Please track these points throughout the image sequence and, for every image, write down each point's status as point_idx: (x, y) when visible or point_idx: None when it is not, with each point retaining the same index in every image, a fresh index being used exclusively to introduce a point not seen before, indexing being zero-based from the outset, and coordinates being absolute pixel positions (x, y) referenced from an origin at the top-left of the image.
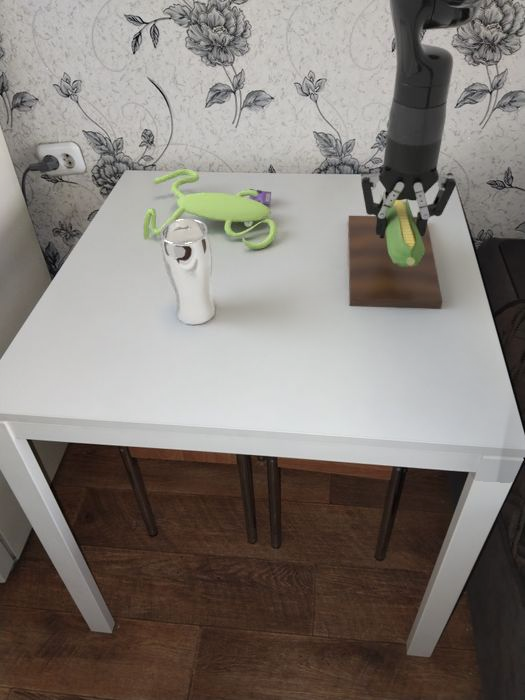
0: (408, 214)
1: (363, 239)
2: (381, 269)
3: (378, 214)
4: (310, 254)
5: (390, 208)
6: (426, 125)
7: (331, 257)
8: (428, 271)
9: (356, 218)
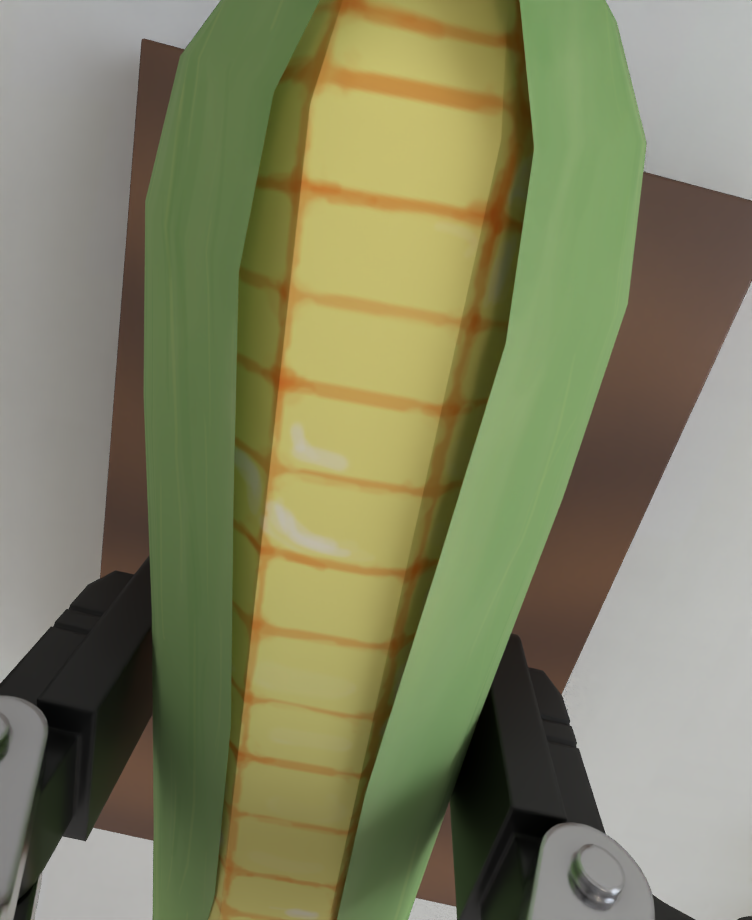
0: (206, 827)
1: None
2: None
3: (649, 901)
4: (747, 701)
5: None
6: None
7: (649, 658)
8: None
9: (433, 883)
